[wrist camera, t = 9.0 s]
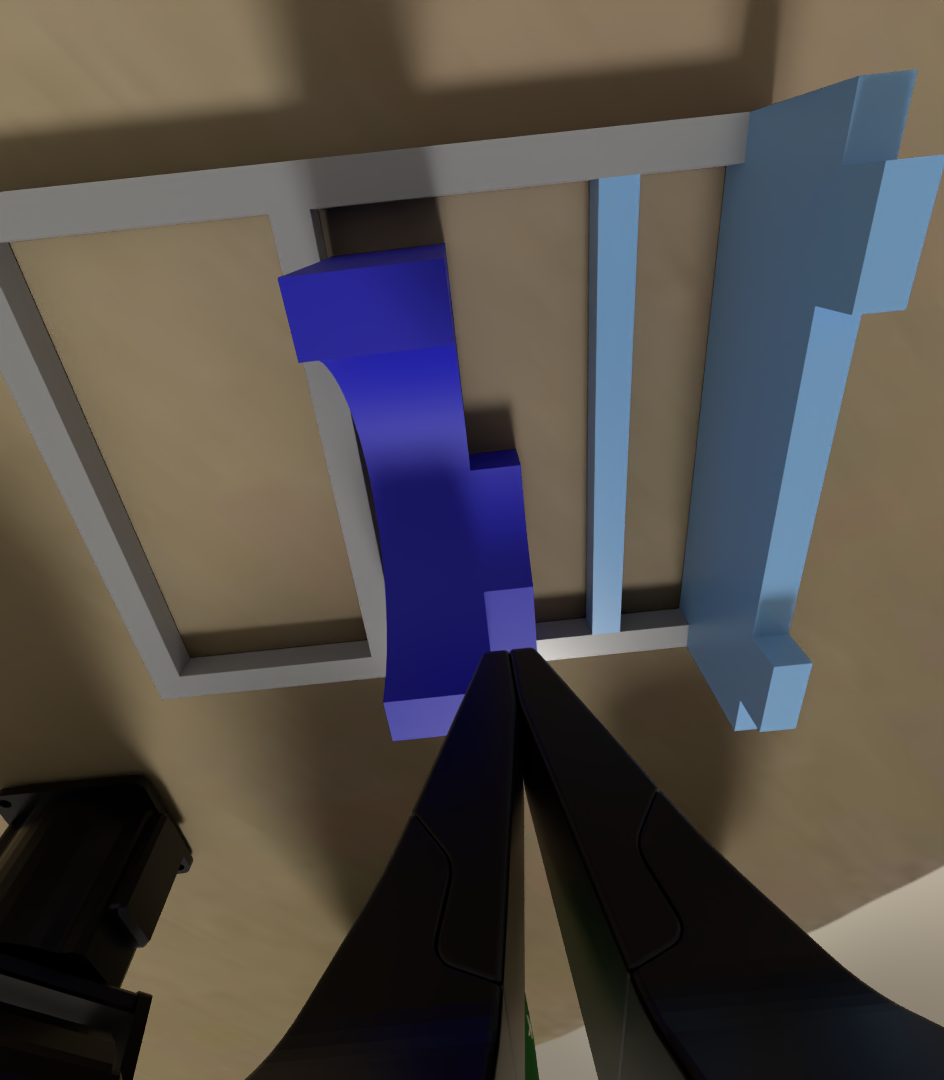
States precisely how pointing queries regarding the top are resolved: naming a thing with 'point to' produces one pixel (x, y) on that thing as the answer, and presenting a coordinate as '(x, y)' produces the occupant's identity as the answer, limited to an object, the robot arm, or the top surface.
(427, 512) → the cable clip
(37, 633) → the top surface
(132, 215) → the blue grey rack
